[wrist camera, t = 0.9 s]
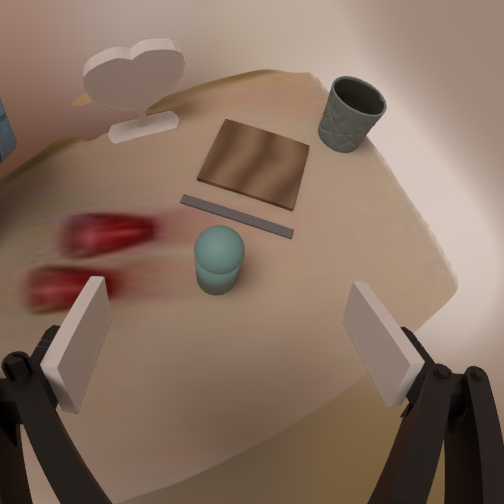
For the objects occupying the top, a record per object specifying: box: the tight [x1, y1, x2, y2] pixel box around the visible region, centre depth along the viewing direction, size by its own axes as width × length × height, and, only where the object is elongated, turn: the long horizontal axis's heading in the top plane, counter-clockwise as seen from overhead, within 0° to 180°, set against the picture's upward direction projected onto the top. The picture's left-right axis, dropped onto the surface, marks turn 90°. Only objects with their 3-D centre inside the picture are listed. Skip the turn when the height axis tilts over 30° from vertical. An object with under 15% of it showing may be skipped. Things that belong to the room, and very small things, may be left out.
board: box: [197, 119, 309, 211], centre depth 52 cm, size 16×14×1 cm
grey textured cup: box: [318, 76, 386, 153], centre depth 52 cm, size 10×10×12 cm
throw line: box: [180, 194, 294, 239], centre depth 49 cm, size 18×2×1 cm, turn 74°
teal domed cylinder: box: [194, 225, 244, 295], centre depth 39 cm, size 6×6×14 cm
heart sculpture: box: [83, 38, 185, 144], centre depth 44 cm, size 16×5×18 cm, turn 109°
